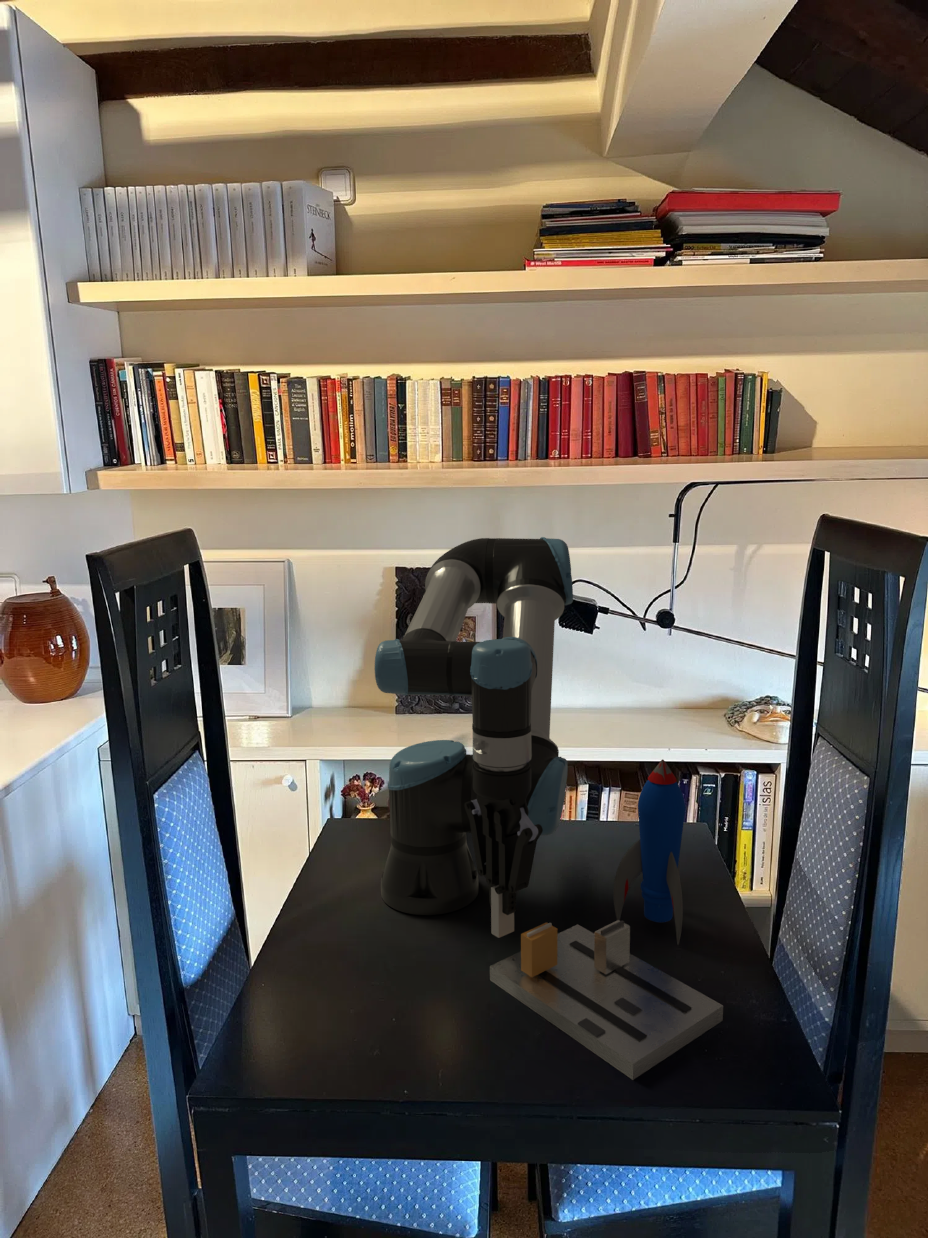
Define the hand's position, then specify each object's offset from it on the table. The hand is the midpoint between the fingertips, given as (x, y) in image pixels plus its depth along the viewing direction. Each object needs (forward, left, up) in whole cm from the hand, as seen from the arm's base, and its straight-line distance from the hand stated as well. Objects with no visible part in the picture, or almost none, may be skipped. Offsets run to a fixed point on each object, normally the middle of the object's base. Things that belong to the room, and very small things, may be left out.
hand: (502, 932), depth 117 cm
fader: (+7, 0, -2) cm, 7 cm away
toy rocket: (+6, +22, -5) cm, 23 cm away
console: (+14, +4, -5) cm, 15 cm away
